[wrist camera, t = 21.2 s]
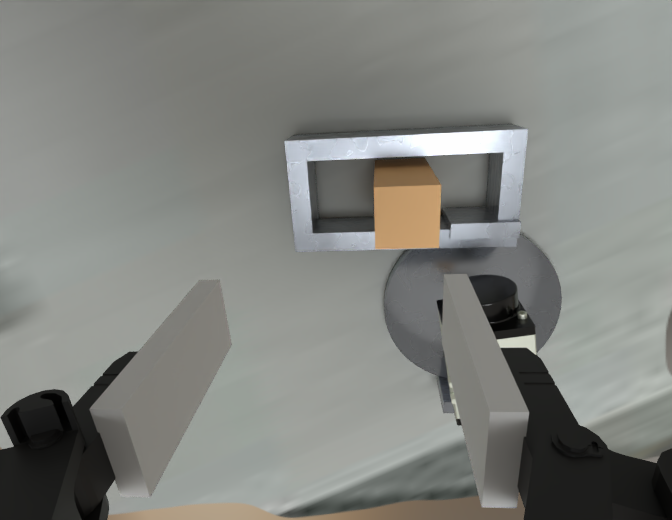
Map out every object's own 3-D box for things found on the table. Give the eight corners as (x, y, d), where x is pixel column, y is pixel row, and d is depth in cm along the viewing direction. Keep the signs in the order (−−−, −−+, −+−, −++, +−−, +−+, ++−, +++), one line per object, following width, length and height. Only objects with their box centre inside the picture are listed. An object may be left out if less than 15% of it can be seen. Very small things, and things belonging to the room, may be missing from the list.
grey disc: (382, 209, 37) (383, 226, 33) (567, 203, 36) (593, 220, 31) (385, 380, 44) (386, 412, 40) (542, 381, 42) (560, 414, 38)
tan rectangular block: (375, 207, 37) (375, 249, 28) (374, 159, 36) (373, 187, 26) (423, 206, 37) (439, 247, 28) (424, 157, 35) (441, 184, 26)
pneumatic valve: (490, 242, 36) (540, 314, 25) (501, 361, 40) (549, 468, 29) (422, 253, 37) (441, 327, 26) (440, 368, 41) (463, 475, 30)
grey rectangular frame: (294, 135, 35) (284, 141, 32) (511, 123, 34) (528, 129, 30) (303, 235, 39) (295, 251, 35) (502, 230, 37) (516, 246, 33)
